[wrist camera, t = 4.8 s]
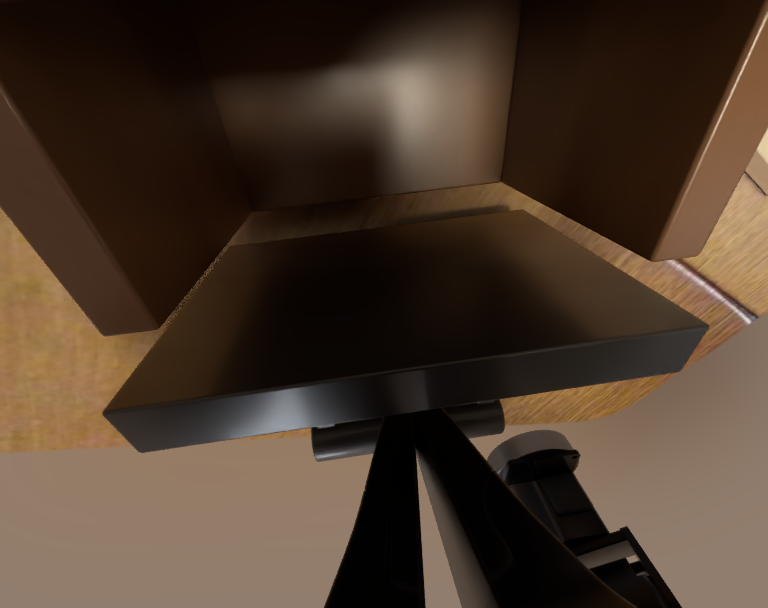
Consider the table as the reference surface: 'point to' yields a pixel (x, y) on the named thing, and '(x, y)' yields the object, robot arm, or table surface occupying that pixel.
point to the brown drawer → (372, 195)
